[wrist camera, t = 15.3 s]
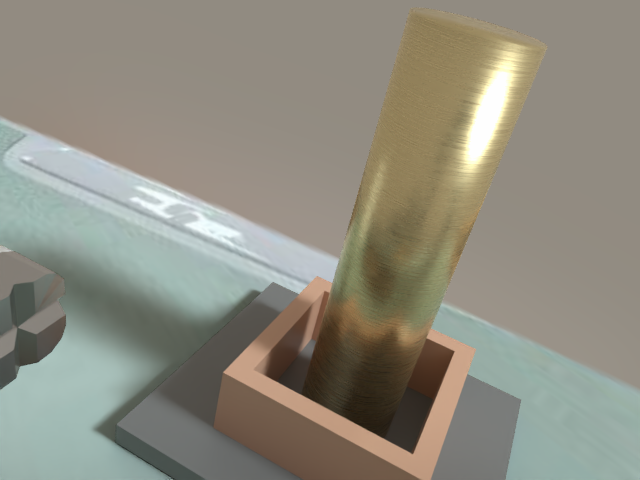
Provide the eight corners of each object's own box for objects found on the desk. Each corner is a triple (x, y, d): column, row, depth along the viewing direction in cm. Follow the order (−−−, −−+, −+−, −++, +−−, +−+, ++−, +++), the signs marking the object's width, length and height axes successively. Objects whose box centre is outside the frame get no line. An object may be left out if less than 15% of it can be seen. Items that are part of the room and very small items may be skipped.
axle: (406, 440, 23) (577, 55, 15) (320, 459, 21) (462, 36, 13) (364, 371, 26) (489, 19, 18) (286, 383, 24) (385, 0, 16)
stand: (512, 413, 27) (546, 354, 25) (461, 657, 17) (511, 591, 15) (270, 296, 31) (282, 236, 29) (115, 442, 21) (118, 366, 19)
